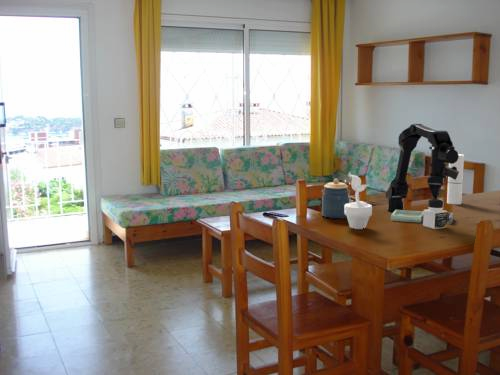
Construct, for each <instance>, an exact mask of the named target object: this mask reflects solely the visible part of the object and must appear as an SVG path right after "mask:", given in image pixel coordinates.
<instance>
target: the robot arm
mask: <svg viewBox="0 0 500 375" xmlns="http://www.w3.org/2000/svg"><path fill="white" fill-rule="evenodd" d="M421 138H424V139H427V142H428V143H430V144H431V145H430V146H429V147H428V149H429V150H431V153H430V154H431V155H430V156H431V158H430V163H429V164H430V165H429V166H430V172H429V176H428V177H427V180H426V181H427V185H428V187H429V190H430V192H431V196H432V199H438V196H440V192H441V188H442V186H444V182H446V181H447V179H448V177H451V178H452V179H455V180H456V178H457V176H458V174H459V171H457V167H454V166H453V167H452V168H450V167H449V166H447V164H449V163H450V164H453V163H455V162H457V160H458V158H459V155H458V154H459V153H458V151H457V150H456V149H455V146H454V144H453V141H452V139H451V137H450V134H449V132H448V131H447V130H438V129H437V130H436V129H433V128H431V127H429V126H425V125H424V124H422V123H412V124H410V126H409V127H407V128H406V129H403V130H402V131H401V132H400V133H399V135H398V145H399V146H398V147H399V149H400V151H399V157H398V162H397V167H396V173H395V177H394V178H393V179H392V180H391V181H390V184H389V187H388V189H387V190H386V192H385V195H384V196H385V198H386V199H388V209H387V212H392V213H393V212H394V211H395V210H404V209H405V200H404V199H407V196H408V192H409V187H410V185H409V183H408V181H407V176H408V171H409V166H410V161H411V157H412V156H411V155H412V152H413V151H414V150H415V148H416V147H417V146H418V143H419V141H420V139H421Z"/></svg>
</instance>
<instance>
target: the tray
mask: <svg viewBox="0 0 500 375" xmlns="http://www.w3.org/2000/svg"><path fill="white" fill-rule="evenodd" d="M423 214H424V210H422V211H420V210H395V211H394V212H392V213H391V215H390V221H391V222H393V221H395V222H405V223H418V224H420V223H421V224H422V223H423Z"/></svg>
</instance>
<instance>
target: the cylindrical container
mask: <svg viewBox="0 0 500 375" xmlns="http://www.w3.org/2000/svg"><path fill="white" fill-rule="evenodd" d="M458 155H459V158H458V160H457V162H455V163H453V164H450V163H448V167H450V168H452V167H453V166H454V167H457V171H459V174H458V176H457V178H456V180H455V179H452V178H451V177H448V176H447V191H446V192H447V193H446V194H447V196H446V204H448V205H462V202H463V201H462V200H463V183H464V181H463V180H464V167H465V166H464V165H465V162H464V161H465V154H463V153H462V154H461V153H458Z"/></svg>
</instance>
